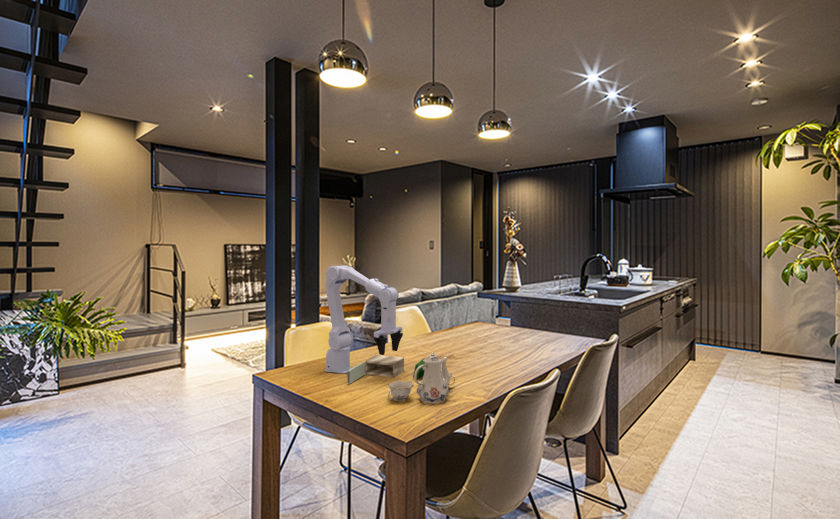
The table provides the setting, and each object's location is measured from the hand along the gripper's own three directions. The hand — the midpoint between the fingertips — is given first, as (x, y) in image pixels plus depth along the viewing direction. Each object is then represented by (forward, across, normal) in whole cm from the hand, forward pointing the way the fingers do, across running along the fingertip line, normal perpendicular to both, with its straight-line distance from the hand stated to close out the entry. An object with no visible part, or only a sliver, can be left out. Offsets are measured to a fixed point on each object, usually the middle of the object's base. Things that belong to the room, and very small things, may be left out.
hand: (388, 352), depth 163 cm
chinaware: (+10, -7, -25) cm, 28 cm away
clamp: (+10, +11, -10) cm, 18 cm away
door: (+10, -9, +8) cm, 16 cm away
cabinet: (+10, +5, +6) cm, 13 cm away
